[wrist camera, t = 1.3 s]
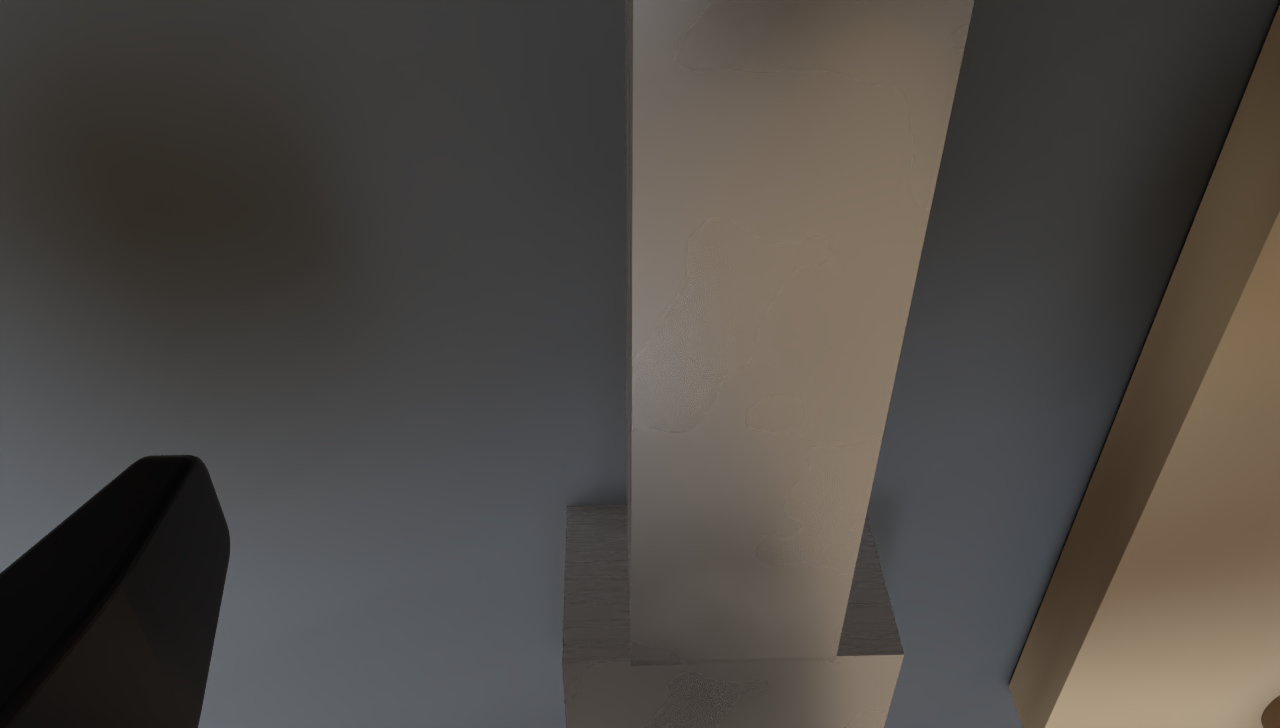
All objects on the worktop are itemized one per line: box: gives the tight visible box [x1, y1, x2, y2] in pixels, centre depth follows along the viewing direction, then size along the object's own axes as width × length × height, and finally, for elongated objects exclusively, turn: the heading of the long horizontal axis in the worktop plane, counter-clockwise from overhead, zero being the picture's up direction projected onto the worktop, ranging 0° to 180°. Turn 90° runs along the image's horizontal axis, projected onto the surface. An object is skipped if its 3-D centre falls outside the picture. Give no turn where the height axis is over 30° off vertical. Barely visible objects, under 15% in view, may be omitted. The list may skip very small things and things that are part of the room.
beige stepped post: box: [562, 0, 975, 728], centre depth 10 cm, size 16×4×2 cm, turn 0°
